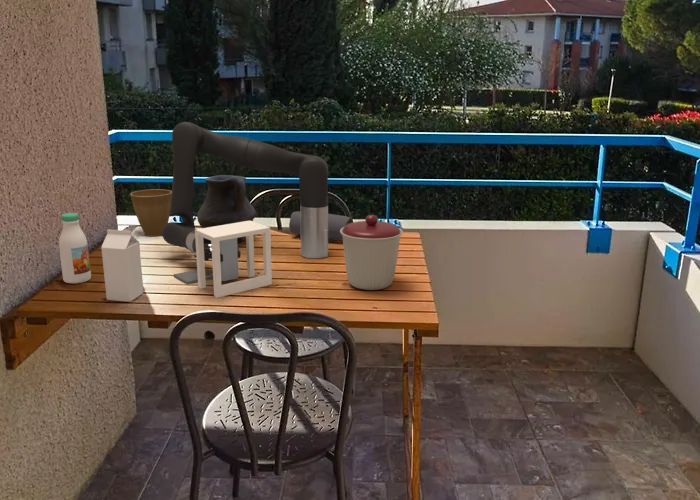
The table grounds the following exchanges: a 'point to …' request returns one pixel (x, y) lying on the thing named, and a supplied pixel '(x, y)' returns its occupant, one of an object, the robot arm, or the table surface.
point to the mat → (191, 276)
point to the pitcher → (225, 202)
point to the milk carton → (122, 266)
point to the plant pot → (152, 209)
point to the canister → (370, 252)
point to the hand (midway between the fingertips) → (230, 256)
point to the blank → (229, 259)
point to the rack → (240, 231)
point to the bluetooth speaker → (333, 225)
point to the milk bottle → (73, 251)
